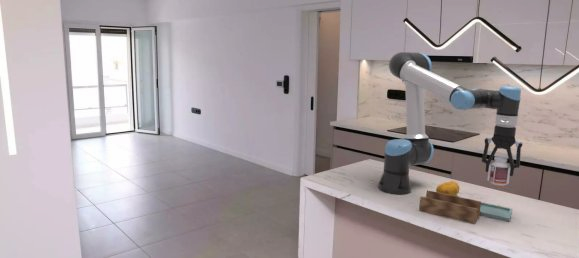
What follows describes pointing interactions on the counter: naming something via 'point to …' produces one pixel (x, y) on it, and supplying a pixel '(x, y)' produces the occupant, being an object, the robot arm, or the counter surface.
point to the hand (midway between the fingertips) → (497, 181)
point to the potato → (448, 188)
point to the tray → (495, 211)
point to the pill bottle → (499, 171)
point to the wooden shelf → (450, 206)
